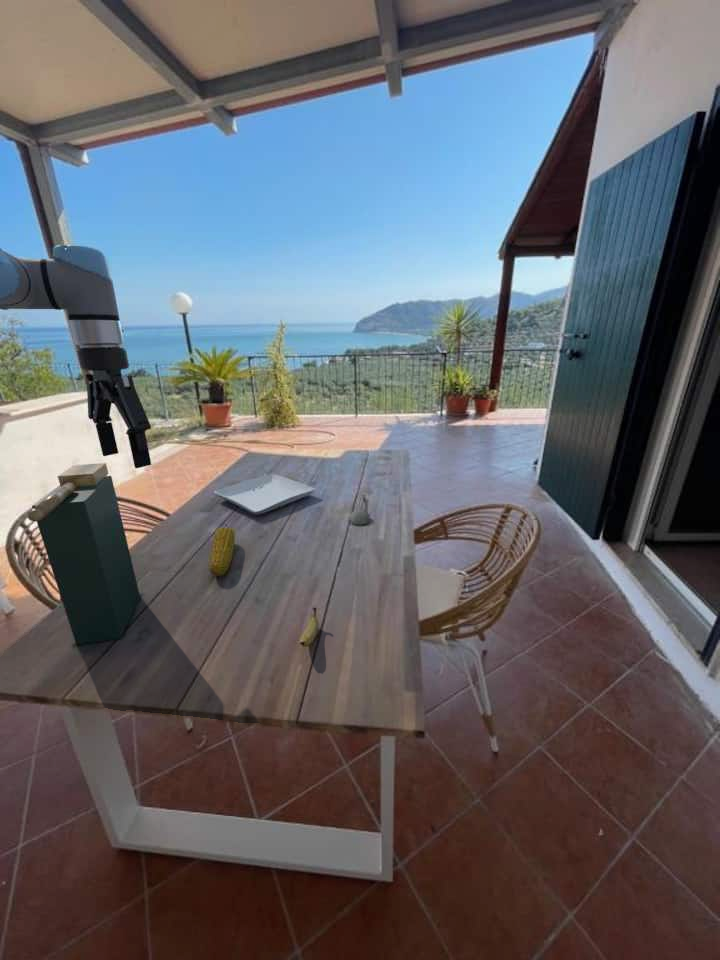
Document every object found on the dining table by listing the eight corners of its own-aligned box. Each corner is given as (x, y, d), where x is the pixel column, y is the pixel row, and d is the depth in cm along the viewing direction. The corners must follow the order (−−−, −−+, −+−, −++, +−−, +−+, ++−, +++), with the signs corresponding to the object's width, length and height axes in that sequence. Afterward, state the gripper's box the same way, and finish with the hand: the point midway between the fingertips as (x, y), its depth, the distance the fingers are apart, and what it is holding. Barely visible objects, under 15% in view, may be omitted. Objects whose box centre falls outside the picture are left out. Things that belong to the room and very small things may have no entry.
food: (216, 542, 115) (213, 524, 113) (236, 540, 116) (234, 522, 114) (209, 583, 96) (205, 562, 94) (232, 580, 97) (230, 559, 95)
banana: (309, 659, 73) (308, 642, 71) (297, 658, 73) (295, 641, 72) (321, 622, 82) (320, 607, 81) (310, 621, 83) (309, 606, 81)
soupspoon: (348, 526, 126) (368, 528, 125) (348, 517, 124) (368, 519, 124) (355, 498, 146) (372, 499, 145) (355, 490, 145) (373, 491, 144)
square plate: (213, 500, 145) (212, 490, 144) (272, 481, 164) (272, 472, 163) (256, 521, 128) (255, 510, 127) (317, 496, 148) (316, 487, 146)
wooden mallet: (11, 525, 59) (6, 511, 58) (76, 476, 81) (73, 465, 80) (56, 521, 61) (52, 507, 60) (108, 473, 82) (105, 462, 81)
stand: (76, 645, 77) (31, 505, 66) (101, 601, 89) (67, 479, 79) (121, 637, 78) (84, 501, 68) (140, 595, 91) (111, 475, 81)
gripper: (157, 346, 65) (178, 466, 73) (94, 345, 79) (117, 446, 86) (109, 347, 60) (137, 477, 67) (50, 346, 74) (79, 454, 81)
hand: (126, 460), depth 77 cm, fingers open, 13 cm apart
